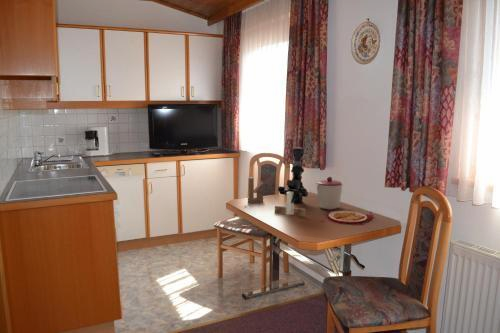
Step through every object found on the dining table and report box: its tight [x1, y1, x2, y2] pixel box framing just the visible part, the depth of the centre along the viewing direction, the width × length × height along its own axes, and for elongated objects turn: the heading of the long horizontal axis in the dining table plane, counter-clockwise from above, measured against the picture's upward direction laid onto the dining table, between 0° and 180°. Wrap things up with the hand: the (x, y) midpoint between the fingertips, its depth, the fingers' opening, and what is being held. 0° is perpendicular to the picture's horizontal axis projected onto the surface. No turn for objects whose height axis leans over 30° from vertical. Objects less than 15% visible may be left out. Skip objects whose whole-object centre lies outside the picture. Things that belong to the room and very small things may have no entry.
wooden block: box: [247, 177, 264, 204], centre depth 287 cm, size 4×11×18 cm, turn 116°
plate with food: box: [320, 209, 374, 226], centre depth 245 cm, size 25×26×4 cm
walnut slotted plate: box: [274, 205, 306, 218], centre depth 255 cm, size 20×2×4 cm, turn 62°
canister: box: [315, 176, 344, 210], centre depth 270 cm, size 18×18×21 cm
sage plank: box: [285, 191, 294, 214], centre depth 254 cm, size 4×3×13 cm
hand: (289, 202), depth 253 cm, fingers closed on sage plank, 3 cm apart
